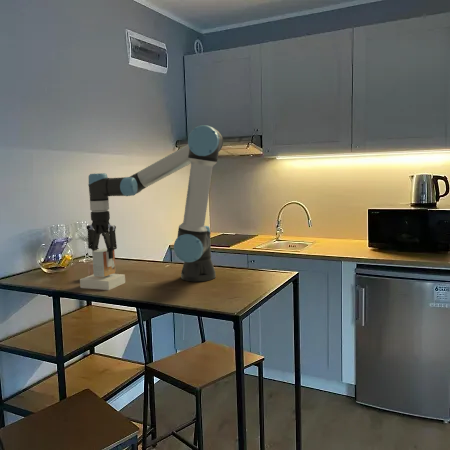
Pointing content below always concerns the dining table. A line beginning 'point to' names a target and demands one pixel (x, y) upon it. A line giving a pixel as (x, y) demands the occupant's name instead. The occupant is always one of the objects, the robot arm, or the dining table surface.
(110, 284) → the ceramic block
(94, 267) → the small box
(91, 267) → the brown rounded block
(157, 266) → the dining table surface
